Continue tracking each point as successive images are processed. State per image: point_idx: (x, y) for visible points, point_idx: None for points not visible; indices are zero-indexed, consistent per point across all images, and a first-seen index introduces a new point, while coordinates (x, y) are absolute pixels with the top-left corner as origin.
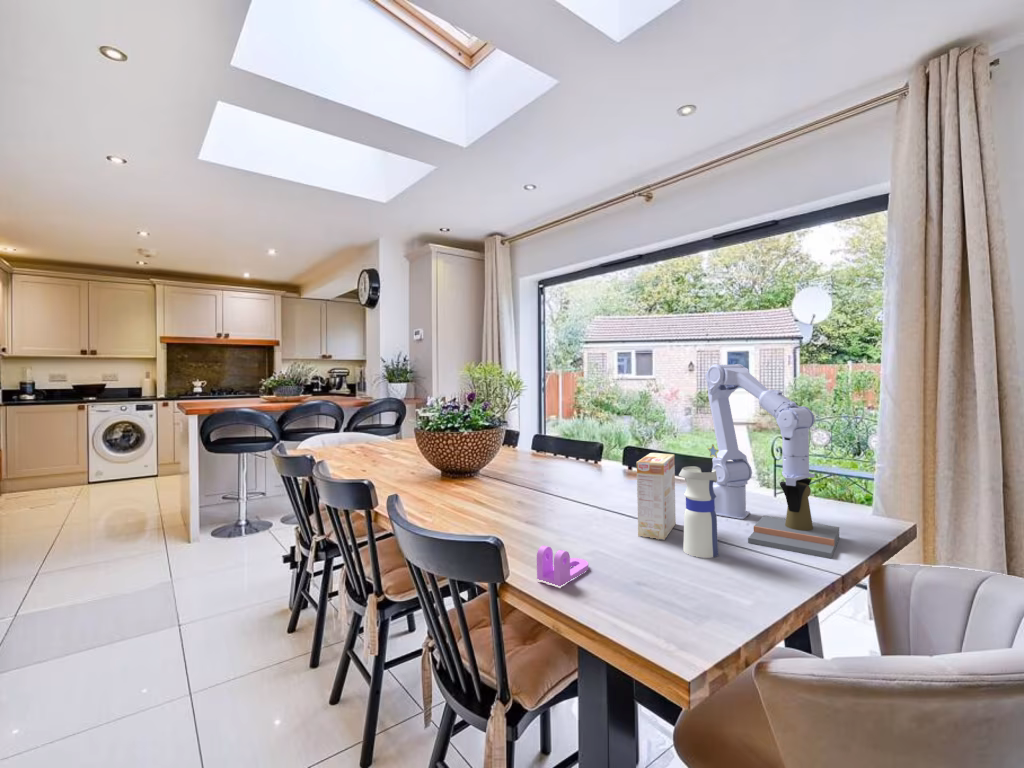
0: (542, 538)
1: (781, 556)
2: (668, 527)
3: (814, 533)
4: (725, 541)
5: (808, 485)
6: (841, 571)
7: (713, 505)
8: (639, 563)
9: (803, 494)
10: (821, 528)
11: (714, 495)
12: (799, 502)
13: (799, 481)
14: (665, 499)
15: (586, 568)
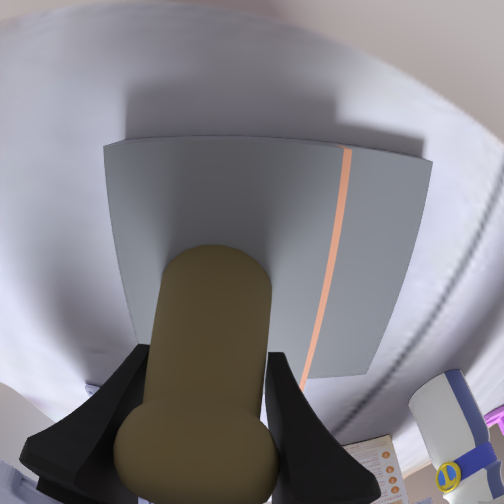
0: (407, 468)
1: (441, 284)
2: (364, 453)
3: (289, 232)
4: (366, 391)
5: (69, 437)
6: (494, 143)
7: (487, 453)
8: (477, 403)
9: (269, 437)
10: (178, 212)
11: (493, 470)
12: (305, 400)
13: (112, 492)
14: (394, 496)
15: (493, 413)
